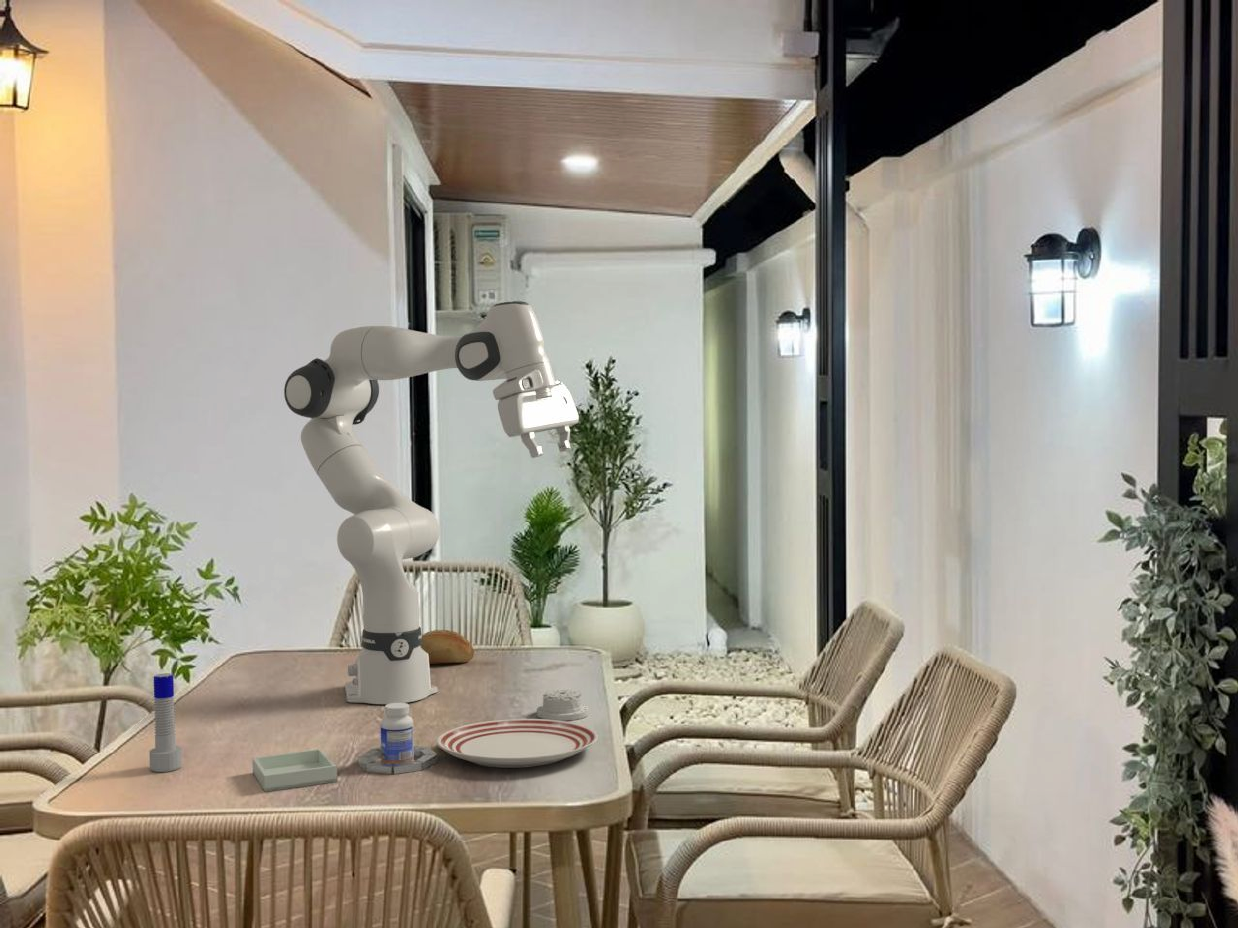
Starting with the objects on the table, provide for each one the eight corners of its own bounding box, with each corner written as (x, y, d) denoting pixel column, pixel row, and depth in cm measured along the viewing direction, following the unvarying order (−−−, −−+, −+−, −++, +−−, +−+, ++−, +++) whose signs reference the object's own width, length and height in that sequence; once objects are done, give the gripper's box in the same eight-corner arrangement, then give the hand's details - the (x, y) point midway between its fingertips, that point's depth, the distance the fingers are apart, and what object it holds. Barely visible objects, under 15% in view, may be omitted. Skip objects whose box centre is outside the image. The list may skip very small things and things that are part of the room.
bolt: (145, 773, 198) (155, 764, 203) (177, 772, 198) (185, 763, 203) (143, 678, 197) (152, 672, 202) (174, 677, 197) (183, 671, 202)
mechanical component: (530, 721, 229) (581, 723, 227) (530, 698, 229) (581, 700, 227) (544, 708, 239) (593, 710, 237) (544, 686, 239) (593, 688, 237)
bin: (252, 772, 197) (252, 757, 197) (321, 763, 202) (321, 748, 202) (264, 791, 187) (264, 775, 187) (337, 781, 192) (336, 765, 192)
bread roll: (474, 667, 278) (473, 632, 277) (408, 669, 276) (407, 634, 275) (473, 658, 287) (473, 625, 287) (409, 661, 285) (409, 627, 285)
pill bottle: (383, 758, 205) (381, 701, 204) (415, 757, 205) (414, 700, 205) (379, 767, 199) (378, 709, 199) (412, 766, 200) (411, 708, 199)
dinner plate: (452, 732, 222) (451, 714, 222) (601, 732, 221) (601, 714, 221) (423, 778, 194) (422, 758, 194) (593, 778, 193) (593, 757, 193)
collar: (352, 758, 205) (352, 751, 205) (422, 748, 210) (422, 741, 210) (370, 777, 194) (370, 770, 194) (443, 766, 200) (443, 759, 199)
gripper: (550, 383, 239) (569, 451, 239) (486, 392, 222) (507, 464, 221) (575, 375, 236) (594, 443, 235) (513, 382, 218) (533, 456, 218)
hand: (551, 453), depth 228 cm, fingers open, 8 cm apart
